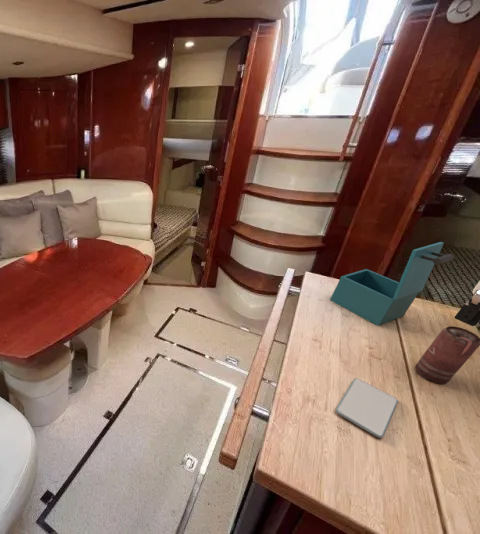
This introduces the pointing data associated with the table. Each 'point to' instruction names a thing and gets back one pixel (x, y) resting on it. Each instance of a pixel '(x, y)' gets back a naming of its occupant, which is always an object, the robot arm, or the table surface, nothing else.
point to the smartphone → (367, 407)
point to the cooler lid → (420, 269)
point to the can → (447, 354)
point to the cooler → (371, 296)
